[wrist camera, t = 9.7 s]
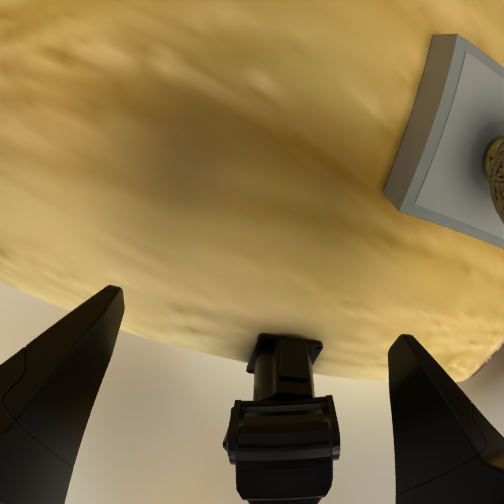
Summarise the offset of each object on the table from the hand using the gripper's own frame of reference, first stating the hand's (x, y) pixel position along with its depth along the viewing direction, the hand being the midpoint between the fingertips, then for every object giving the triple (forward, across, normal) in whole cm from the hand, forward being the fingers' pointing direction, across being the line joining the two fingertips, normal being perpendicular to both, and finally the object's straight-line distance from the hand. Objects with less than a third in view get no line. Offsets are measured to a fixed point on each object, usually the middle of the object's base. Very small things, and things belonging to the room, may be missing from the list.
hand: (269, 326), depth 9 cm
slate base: (+12, -14, -7) cm, 20 cm away
